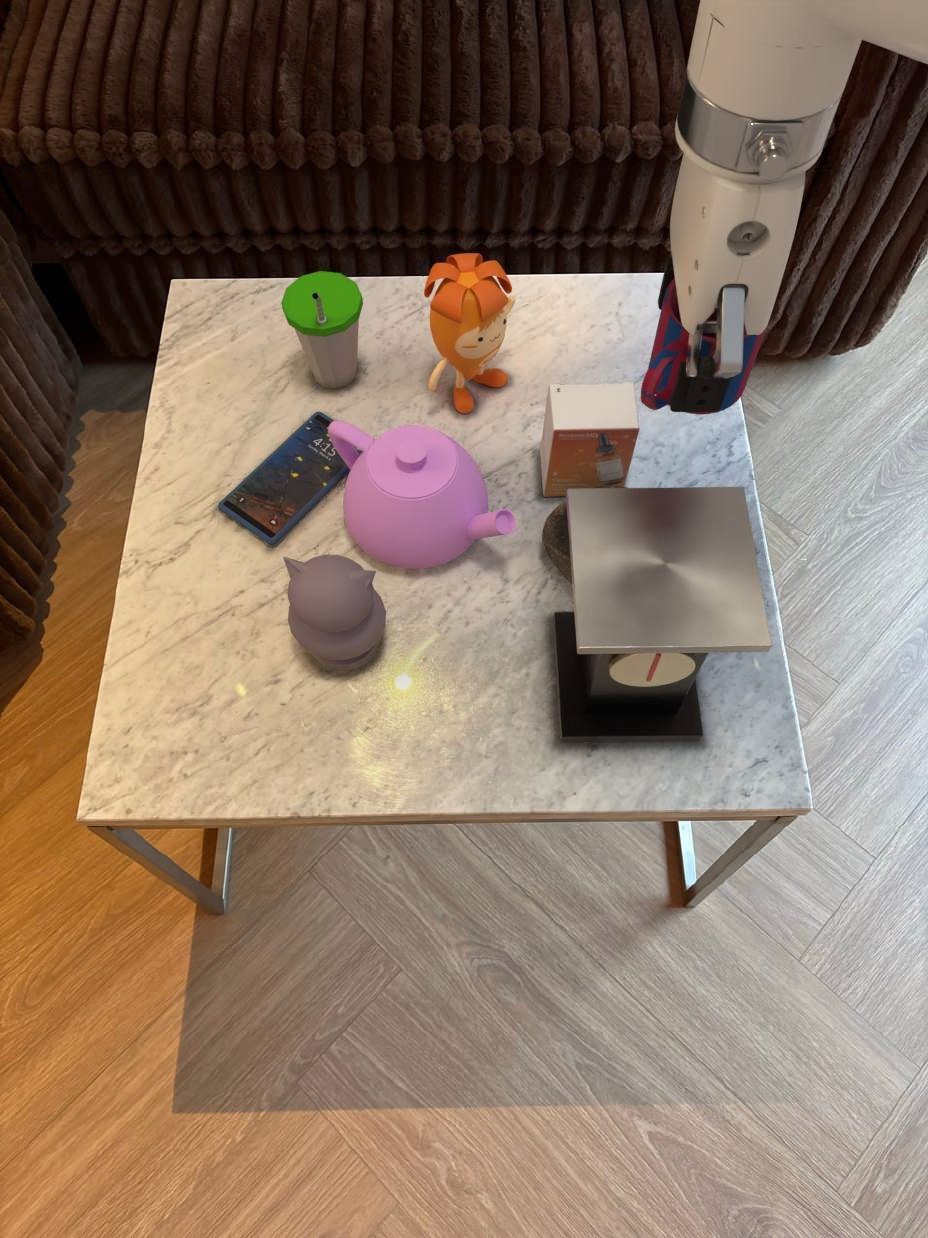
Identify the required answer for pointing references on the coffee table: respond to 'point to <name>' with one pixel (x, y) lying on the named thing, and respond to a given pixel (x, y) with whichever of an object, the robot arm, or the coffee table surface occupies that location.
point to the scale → (652, 608)
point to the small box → (588, 436)
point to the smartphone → (288, 482)
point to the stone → (560, 538)
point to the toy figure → (468, 321)
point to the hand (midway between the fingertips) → (687, 355)
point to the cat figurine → (335, 610)
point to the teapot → (414, 495)
